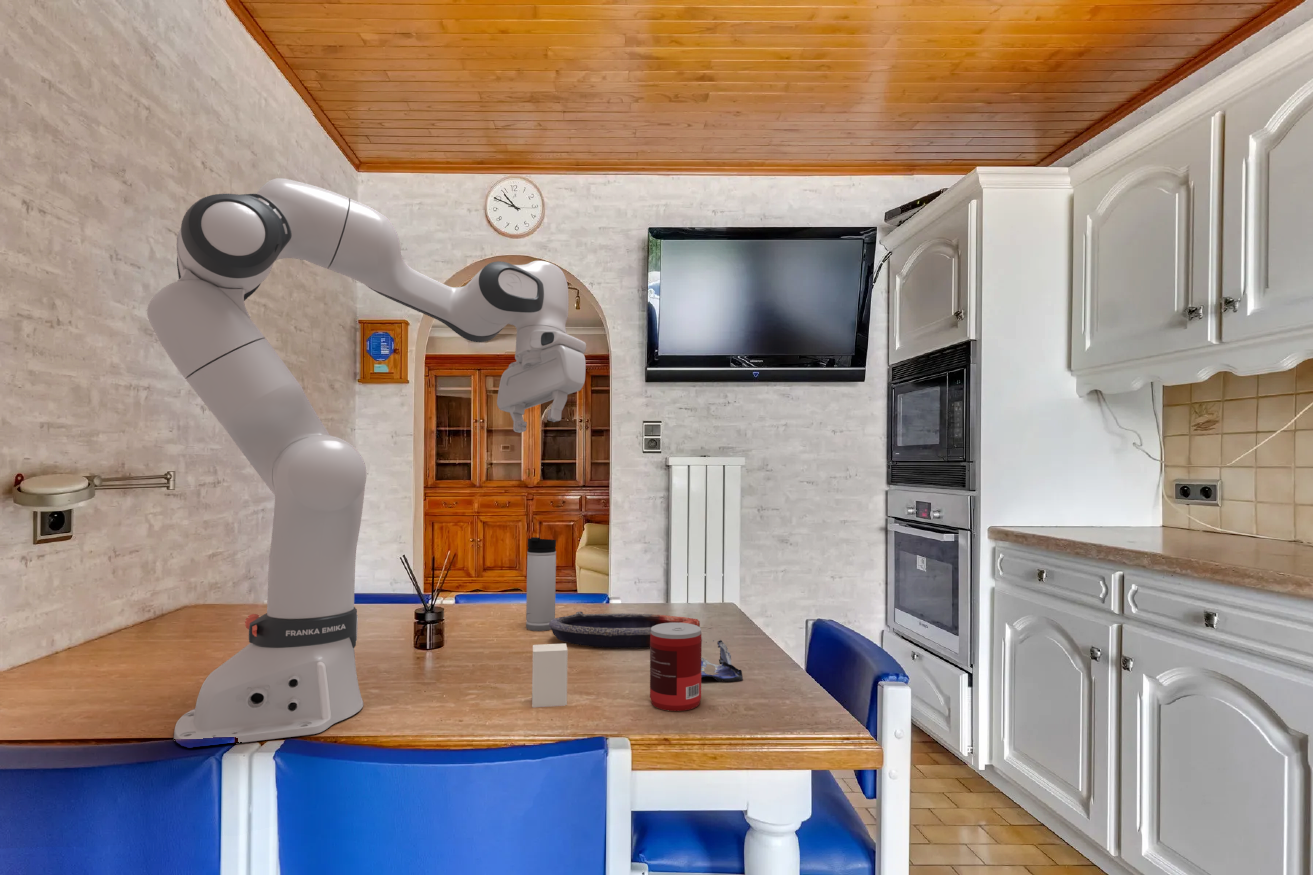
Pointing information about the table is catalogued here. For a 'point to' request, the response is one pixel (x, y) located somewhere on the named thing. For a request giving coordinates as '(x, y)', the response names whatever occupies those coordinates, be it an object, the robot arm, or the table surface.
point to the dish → (611, 629)
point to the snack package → (722, 666)
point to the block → (549, 675)
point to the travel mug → (540, 583)
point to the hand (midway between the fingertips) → (536, 426)
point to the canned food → (675, 666)
